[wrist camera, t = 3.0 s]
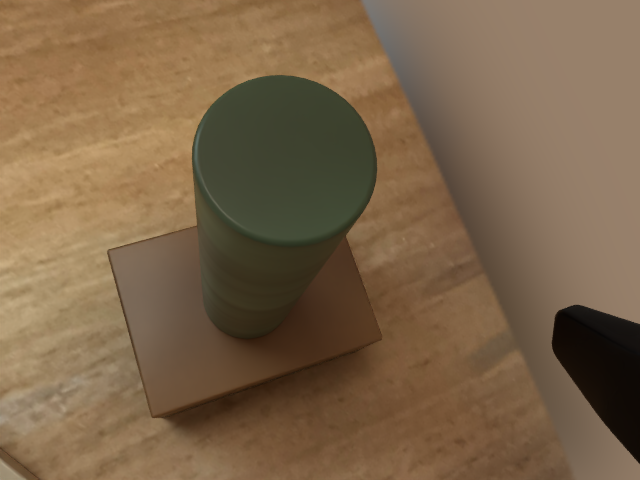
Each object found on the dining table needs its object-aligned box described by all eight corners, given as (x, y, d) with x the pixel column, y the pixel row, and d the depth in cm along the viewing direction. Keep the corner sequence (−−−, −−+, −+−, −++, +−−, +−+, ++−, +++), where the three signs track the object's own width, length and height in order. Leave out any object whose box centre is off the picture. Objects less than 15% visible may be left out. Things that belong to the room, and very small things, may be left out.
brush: (358, 350, 21) (571, 253, 9) (161, 418, 20) (68, 421, 7) (312, 222, 22) (443, -34, 10) (122, 275, 21) (-20, 50, 8)
